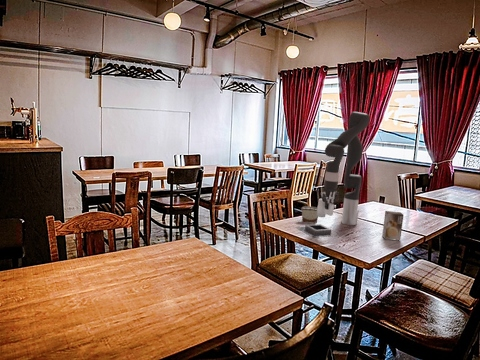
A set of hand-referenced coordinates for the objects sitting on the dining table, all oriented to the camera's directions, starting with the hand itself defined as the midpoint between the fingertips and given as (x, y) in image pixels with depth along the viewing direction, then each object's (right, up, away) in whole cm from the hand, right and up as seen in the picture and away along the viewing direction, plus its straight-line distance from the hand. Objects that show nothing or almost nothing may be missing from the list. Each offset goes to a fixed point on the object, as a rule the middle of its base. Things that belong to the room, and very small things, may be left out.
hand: (328, 208), depth 215 cm
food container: (-5, -11, +31) cm, 34 cm away
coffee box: (+39, -18, +7) cm, 44 cm away
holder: (-5, -15, +8) cm, 18 cm away
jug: (-2, -5, +3) cm, 6 cm away
